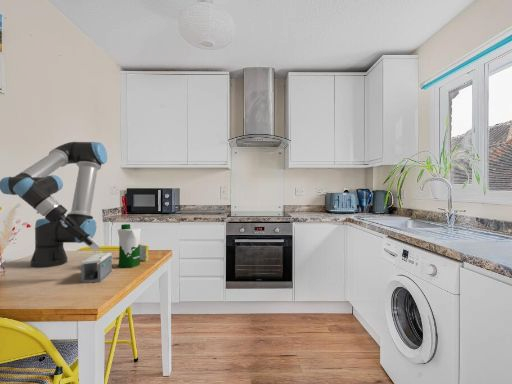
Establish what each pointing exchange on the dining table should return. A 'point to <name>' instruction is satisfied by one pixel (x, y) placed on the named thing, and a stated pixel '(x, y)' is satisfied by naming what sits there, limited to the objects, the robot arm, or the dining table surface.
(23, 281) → the dining table surface
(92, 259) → the cover
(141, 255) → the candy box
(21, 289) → the dining table surface
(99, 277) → the stand
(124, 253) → the milk carton
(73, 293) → the dining table surface
